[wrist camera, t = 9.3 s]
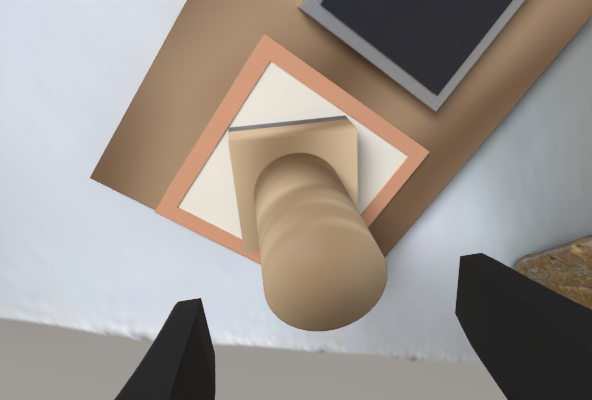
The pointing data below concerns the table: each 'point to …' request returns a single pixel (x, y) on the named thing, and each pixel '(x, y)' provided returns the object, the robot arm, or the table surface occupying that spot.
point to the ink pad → (416, 37)
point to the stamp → (306, 220)
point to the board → (341, 71)
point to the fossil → (563, 270)
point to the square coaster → (272, 109)
